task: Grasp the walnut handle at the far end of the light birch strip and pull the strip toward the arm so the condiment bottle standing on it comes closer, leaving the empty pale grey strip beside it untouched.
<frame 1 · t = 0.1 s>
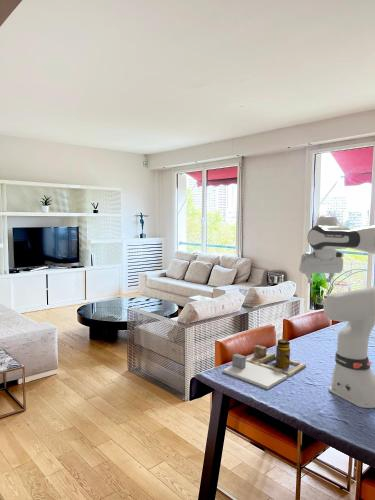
hand: (319, 282, 171), 39 cm above the table, tool pointing down, fingers open, 8 cm apart
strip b: (254, 368, 163), point 3 cm above the table, slide at 0.0 cm
condiment: (280, 366, 174), resting in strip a
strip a: (275, 357, 176), point 3 cm above the table, slide at 0.0 cm
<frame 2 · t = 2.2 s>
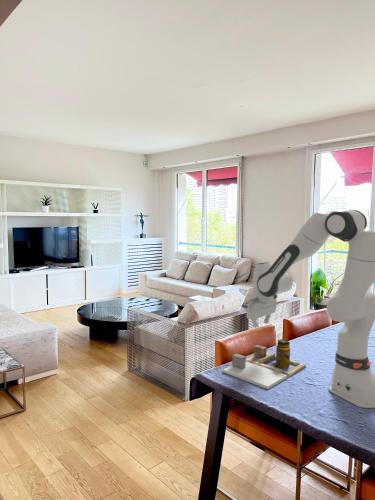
hand: (260, 325, 180), 17 cm above the table, tool pointing down, fingers open, 8 cm apart
nothing on the table moved.
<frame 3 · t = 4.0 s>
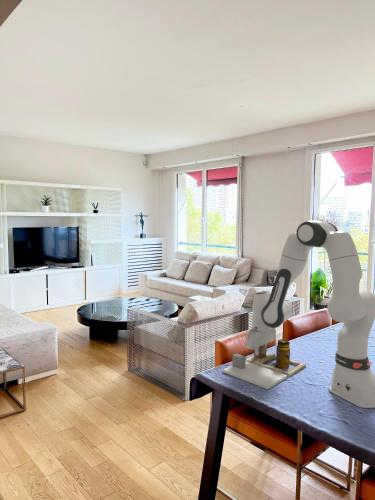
hand: (260, 353, 181), 3 cm above the table, tool pointing down, fingers closed on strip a, 3 cm apart
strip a: (275, 357, 176), point 3 cm above the table, slide at 0.0 cm, touching gripper
everything else where it was.
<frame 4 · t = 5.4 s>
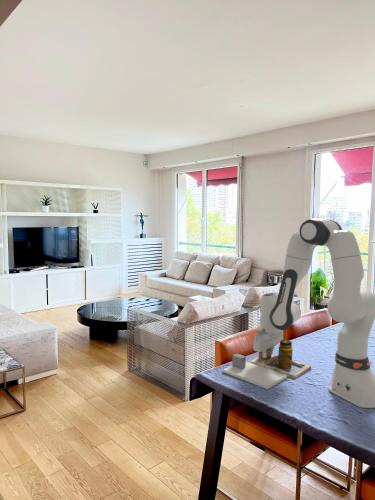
hand: (267, 356, 178), 3 cm above the table, tool pointing down, fingers closed on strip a, 3 cm apart
condiment: (282, 367, 173), resting in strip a
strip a: (280, 359, 174), point 3 cm above the table, slide at 2.6 cm, touching condiment, gripper
everything else where it was.
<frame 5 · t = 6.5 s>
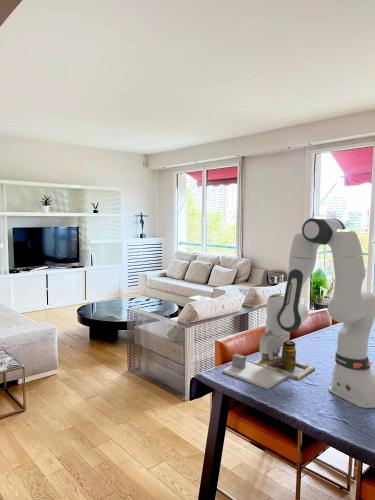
hand: (274, 358, 176), 3 cm above the table, tool pointing down, fingers closed on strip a, 3 cm apart
condiment: (286, 368, 172), resting in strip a
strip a: (283, 360, 173), point 3 cm above the table, slide at 4.3 cm, touching gripper
everything else where it was.
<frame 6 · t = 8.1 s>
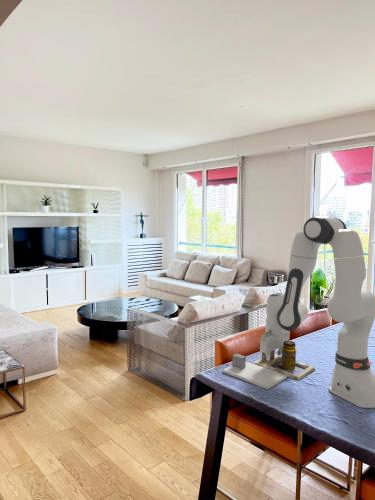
hand: (274, 357, 176), 3 cm above the table, tool pointing down, fingers open, 8 cm apart
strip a: (283, 360, 173), point 3 cm above the table, slide at 4.3 cm
everything else where it was.
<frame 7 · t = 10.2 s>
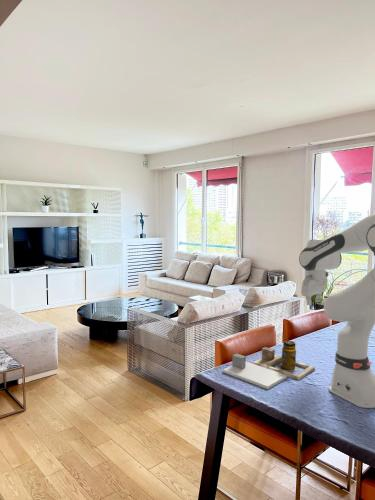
hand: (313, 303, 178), 28 cm above the table, tool pointing down, fingers open, 8 cm apart
nothing on the table moved.
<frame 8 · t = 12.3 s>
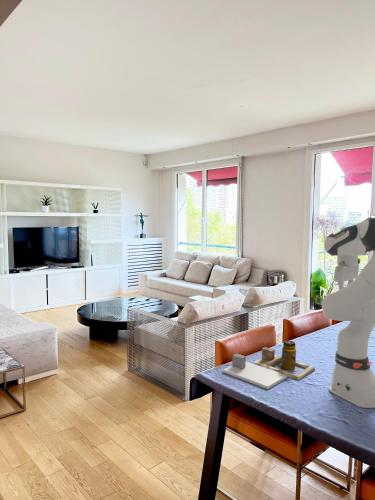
hand: (345, 289, 181), 34 cm above the table, tool pointing down, fingers open, 8 cm apart
nothing on the table moved.
at the end: condiment inside the target area (5.2 cm from its centre), resting in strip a; condiment tilted 0°; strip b slide at 0.0 cm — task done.
